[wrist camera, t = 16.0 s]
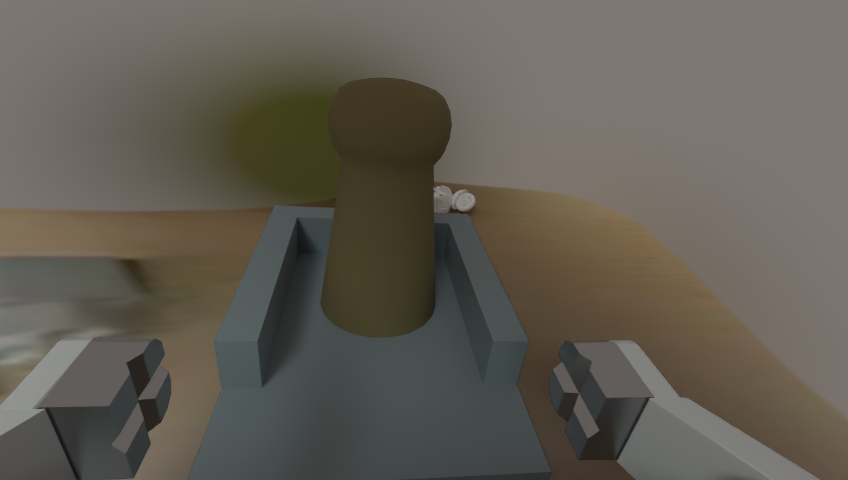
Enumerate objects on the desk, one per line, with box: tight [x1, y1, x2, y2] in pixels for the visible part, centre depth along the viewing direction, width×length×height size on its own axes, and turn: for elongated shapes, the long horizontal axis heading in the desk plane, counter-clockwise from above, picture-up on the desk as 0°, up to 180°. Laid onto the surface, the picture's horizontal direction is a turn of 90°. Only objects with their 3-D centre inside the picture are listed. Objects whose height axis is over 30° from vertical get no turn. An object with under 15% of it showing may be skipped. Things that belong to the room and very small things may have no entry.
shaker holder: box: [188, 205, 551, 480], centre depth 21 cm, size 12×16×3 cm
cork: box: [320, 78, 452, 338], centre depth 20 cm, size 6×6×11 cm
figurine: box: [434, 186, 475, 213], centre depth 36 cm, size 3×8×8 cm
